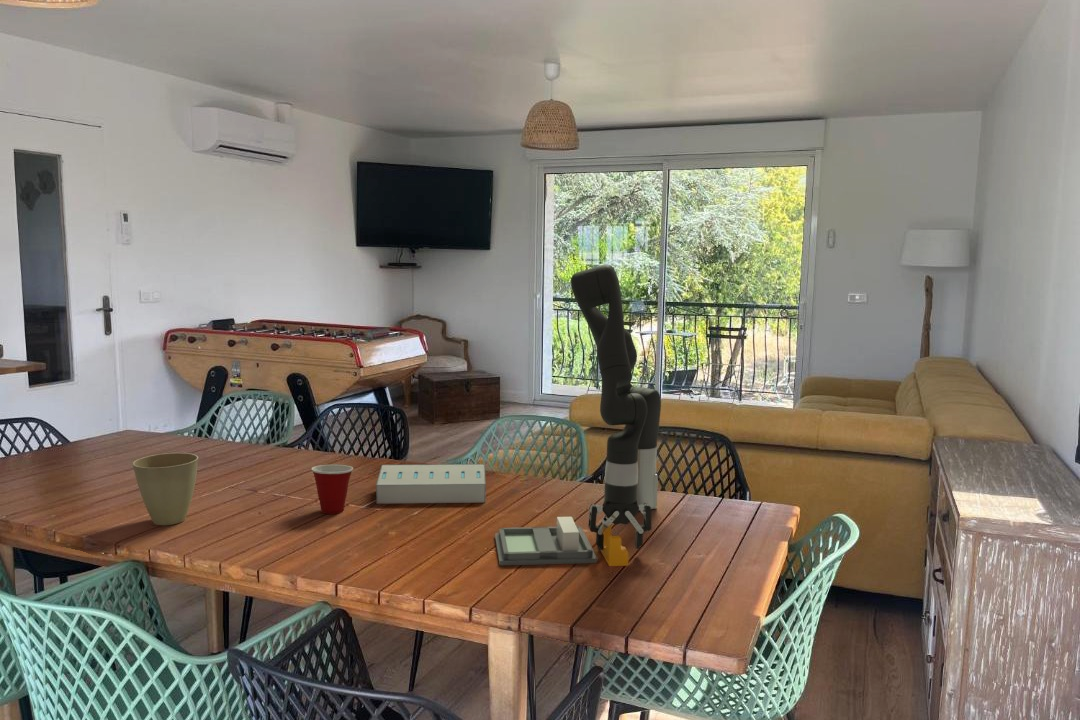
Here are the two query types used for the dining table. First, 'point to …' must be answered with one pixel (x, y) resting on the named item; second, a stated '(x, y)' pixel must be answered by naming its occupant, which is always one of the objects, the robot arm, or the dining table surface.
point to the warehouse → (431, 483)
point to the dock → (544, 545)
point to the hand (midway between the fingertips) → (619, 548)
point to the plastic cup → (332, 486)
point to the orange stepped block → (614, 549)
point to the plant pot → (167, 485)
